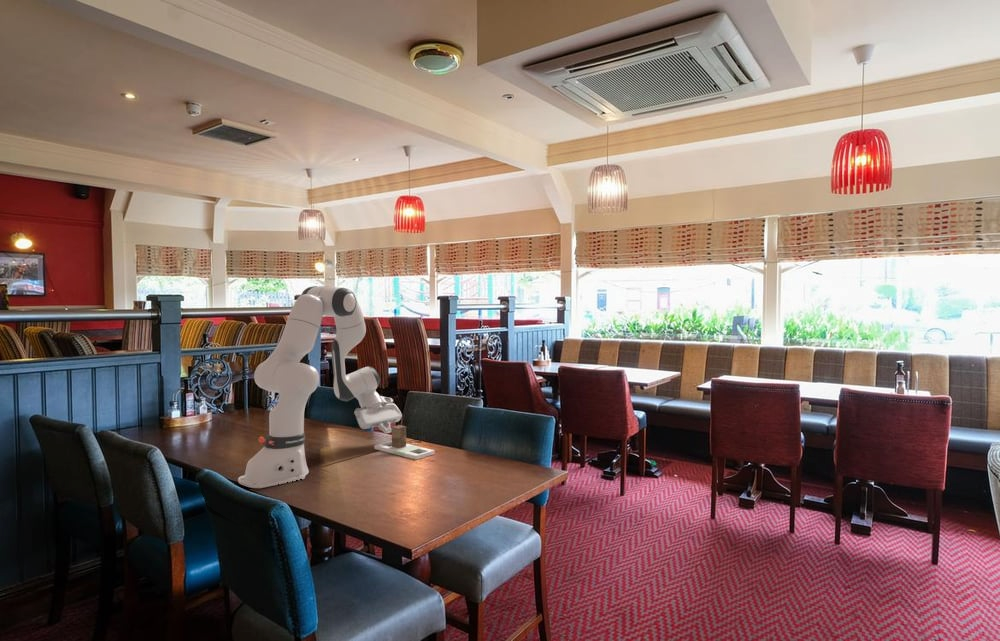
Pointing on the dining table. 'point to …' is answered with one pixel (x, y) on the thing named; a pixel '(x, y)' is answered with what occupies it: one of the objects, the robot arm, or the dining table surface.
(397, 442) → the walnut block
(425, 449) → the board
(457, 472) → the dining table surface
